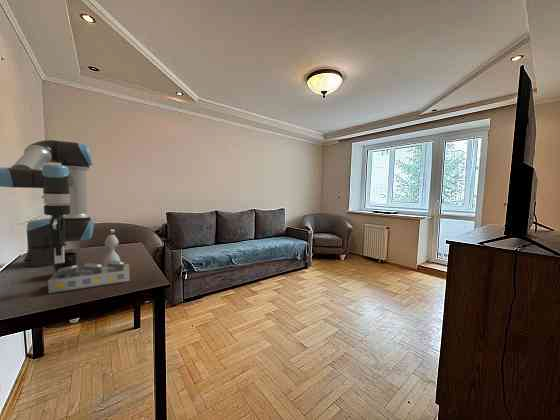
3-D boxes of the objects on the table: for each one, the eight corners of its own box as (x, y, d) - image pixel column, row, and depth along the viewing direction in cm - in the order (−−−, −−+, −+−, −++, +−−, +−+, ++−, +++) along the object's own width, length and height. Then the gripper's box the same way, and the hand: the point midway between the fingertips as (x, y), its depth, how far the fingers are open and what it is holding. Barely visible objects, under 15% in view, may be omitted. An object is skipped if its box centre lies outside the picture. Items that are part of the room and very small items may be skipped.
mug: (57, 281, 101) (56, 259, 100) (51, 274, 108) (50, 254, 107) (81, 276, 107) (81, 255, 107) (74, 270, 115) (74, 251, 114)
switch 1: (60, 272, 96) (59, 268, 96) (78, 268, 100) (77, 264, 99) (57, 276, 92) (56, 272, 92) (77, 271, 95) (76, 267, 95)
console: (54, 284, 98) (54, 271, 97) (129, 274, 112) (128, 262, 112) (48, 293, 89) (47, 279, 89) (129, 281, 104) (129, 268, 103)
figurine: (99, 268, 118) (98, 229, 117) (116, 264, 125) (115, 227, 124) (107, 271, 114) (106, 231, 113) (124, 267, 121) (123, 229, 120)
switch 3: (107, 264, 105) (108, 260, 105) (123, 265, 108) (124, 261, 108) (106, 267, 101) (108, 263, 101) (123, 268, 104) (124, 264, 104)
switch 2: (84, 266, 101) (85, 262, 101) (101, 268, 104) (102, 264, 104) (82, 270, 96) (84, 265, 97) (100, 271, 100) (101, 267, 100)
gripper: (48, 203, 96) (50, 259, 98) (39, 206, 85) (42, 269, 87) (72, 203, 100) (74, 257, 102) (66, 205, 89) (69, 266, 91)
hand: (59, 262), depth 94 cm, fingers closed
